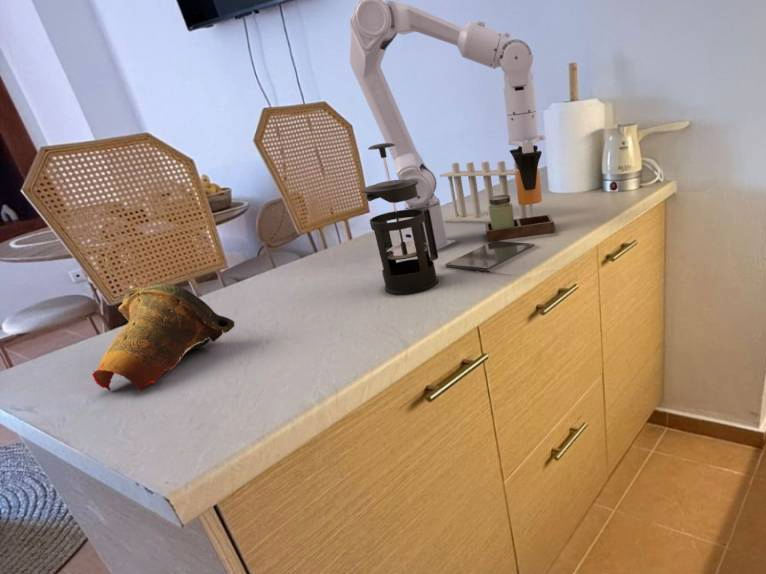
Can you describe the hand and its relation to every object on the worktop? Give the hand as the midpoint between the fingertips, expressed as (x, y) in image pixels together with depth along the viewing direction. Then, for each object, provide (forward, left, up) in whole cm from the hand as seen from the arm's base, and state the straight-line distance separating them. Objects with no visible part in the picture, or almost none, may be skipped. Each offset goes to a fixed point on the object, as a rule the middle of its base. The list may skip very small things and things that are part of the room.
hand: (528, 187), depth 112 cm
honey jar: (0, 0, -3) cm, 3 cm away
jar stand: (-1, +3, -10) cm, 10 cm away
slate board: (-16, -1, -10) cm, 19 cm away
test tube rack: (+9, +18, -10) cm, 22 cm away
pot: (-68, +18, -10) cm, 71 cm away
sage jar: (-3, +5, -9) cm, 11 cm away
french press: (-32, +4, -10) cm, 34 cm away
